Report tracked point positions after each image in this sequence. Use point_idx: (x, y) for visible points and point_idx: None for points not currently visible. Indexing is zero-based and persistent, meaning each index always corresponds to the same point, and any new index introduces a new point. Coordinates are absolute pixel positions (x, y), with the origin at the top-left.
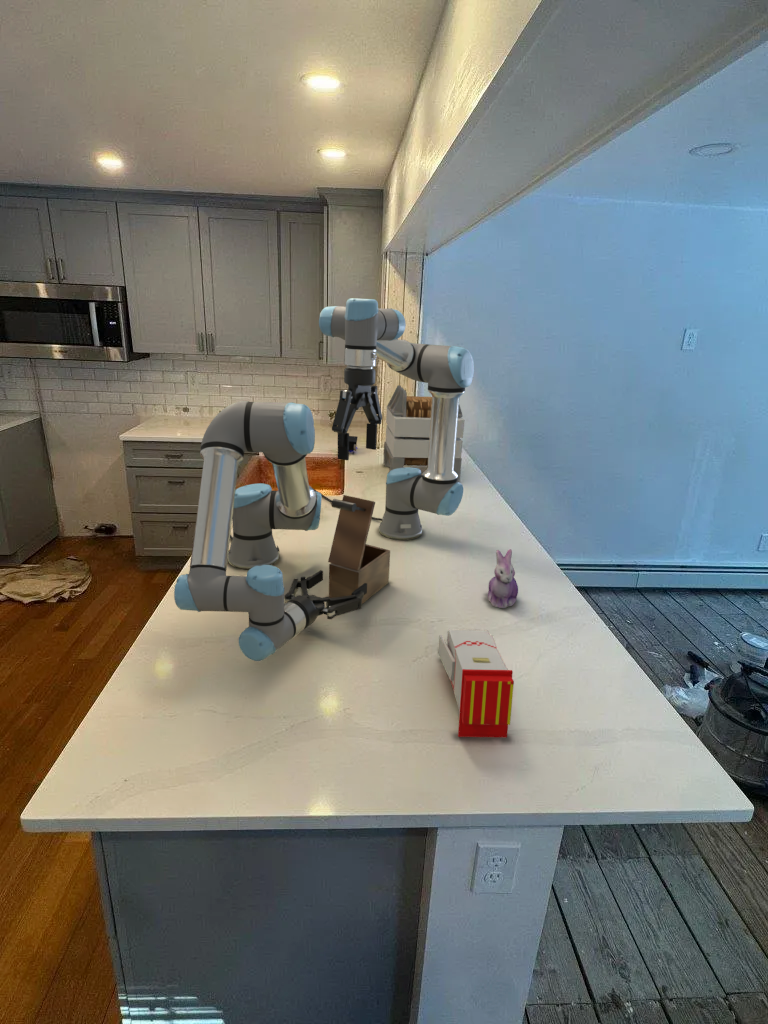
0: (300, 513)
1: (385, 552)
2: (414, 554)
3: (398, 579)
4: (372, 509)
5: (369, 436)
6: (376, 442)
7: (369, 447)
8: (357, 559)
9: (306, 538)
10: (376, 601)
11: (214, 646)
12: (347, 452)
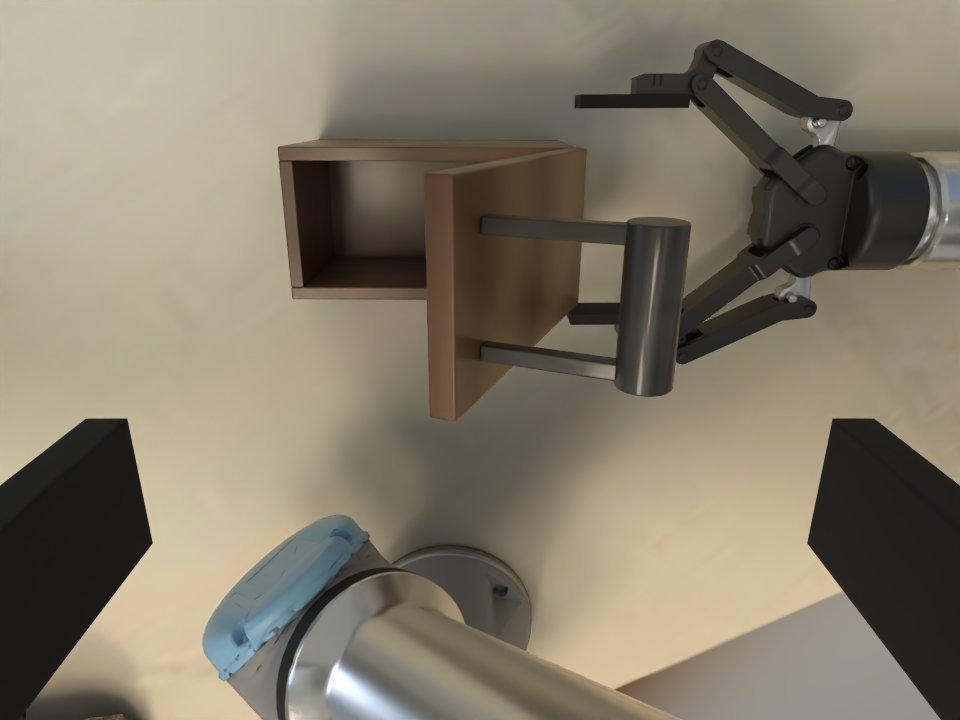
0: (433, 590)
1: (315, 154)
2: (16, 175)
3: (266, 119)
4: (467, 168)
5: (36, 625)
6: (24, 468)
7: (134, 506)
8: (573, 165)
9: (206, 580)
10: (475, 104)
11: (947, 376)
12: (931, 473)
